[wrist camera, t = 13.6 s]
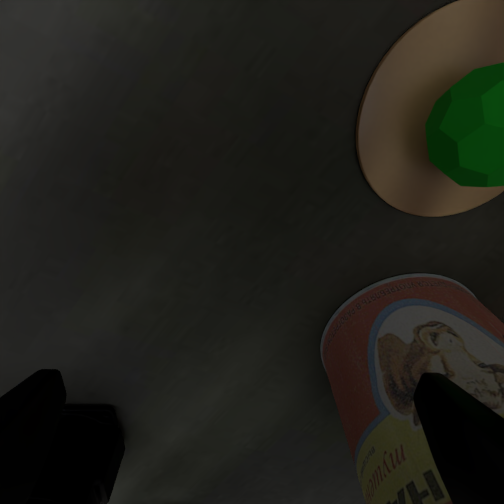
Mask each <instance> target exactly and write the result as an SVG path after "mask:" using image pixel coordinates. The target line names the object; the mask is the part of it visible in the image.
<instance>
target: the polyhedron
mask: <svg viewBox="0 0 504 504" xmlns="http://www.w3.org/2000/svg"><path fill="white" fill-rule="evenodd" d="M425 130H426V141H427V148H428V154H429V161H430V162H431V163H433V164H434V165H435V166H436V167H437V168H438V169H439V170H441V171H442V172H443V173H444V174H445V175H446V176H448V177H449V178H450V179H452V180H453V181H454V182H456V183H457V184H458V185H460V186H466V187H498V186H504V62H502V63H498V64H494V65H490V66H485V67H481V68H477V69H474V70H472V71H471V72H470V73H468V74H467V75H466V76H465V77H463V78H462V79H461V80H459V81H458V82H457V83H456V84H454V85H453V86H452V87H450V88H449V89H448V90H447V91H446V92H445V93H444V94H443V95H442V96H441V97H440V98H439V99H438V100H437V101H436V102H435V104H434V106H433V108H432V110H431V113H430V115H429V117H428V119H427V121H426V124H425Z"/></svg>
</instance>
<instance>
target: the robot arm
mask: <svg viewBox="0 0 504 504" xmlns="http://www.w3.org/2000/svg"><path fill="white" fill-rule="evenodd" d="M413 400H414V405H415V408H416V411H417V414H418V416H419V419H420V422H421V425H422V428H423V431H424V434H425V437H426V440H427V442H428V445H429V448H430V451H431V454H432V457H433V459H434V462H435V465H436V467H437V469H438V472H439V474H440V476H441V479H442V481H443V483H444V485H445V488H446V490H447V492H448V494H449V496H450V499H451V501H452V503H453V504H504V418H503V417H501V416H500V415H498V414H497V413H496V412H494V411H493V410H492V409H490V408H489V407H487V406H486V405H485V404H483V403H482V402H480V401H479V400H478V399H476V398H475V397H473V396H472V395H471V394H469V393H468V392H466V391H465V390H464V389H462V388H461V387H460V386H458V385H457V384H455V383H454V382H453V381H451V380H450V379H448V378H447V377H446V376H444V375H443V374H441V373H437V372H425V373H423V374H422V375H421V377H420V379H419V382H418V384H417V387H416V389H415V392H414V395H413ZM65 402H66V390H65V386H64V383H63V379H62V376H61V373H60V371H59V370H56V369H41V370H39V371H37V372H35V373H34V374H32V375H31V376H30V377H28V378H27V379H25V380H24V381H23V382H21V383H20V384H18V385H17V386H16V387H14V388H13V389H11V390H10V391H9V392H7V393H6V394H4V395H3V396H2V397H0V504H107V503H108V502H109V499H110V496H111V493H112V490H113V487H114V483H115V480H116V477H117V474H118V470H119V467H120V464H121V461H122V459H123V456H124V451H125V445H124V440H123V436H122V431H121V430H120V428H119V427H118V422H117V418H116V413H115V410H114V408H113V407H111V406H64V405H65Z"/></svg>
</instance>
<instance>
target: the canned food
mask: <svg viewBox="0 0 504 504" xmlns="http://www.w3.org/2000/svg"><path fill="white" fill-rule="evenodd" d="M320 353H321V359H322V363H323V366H324V368H325V370H326V372H327V375H328V378H329V381H330V385H331V388H332V391H333V395H334V398H335V401H336V405H337V408H338V411H339V415H340V418H341V421H342V425H343V428H344V431H345V435H346V438H347V441H348V445H349V448H350V451H351V455H352V458H353V461H354V465H355V468H356V471H357V475H358V478H359V481H360V485H361V488H362V491H363V495H364V498H365V501H366V504H453V503H452V501H451V499H450V496H449V494H448V492H447V490H446V488H445V485H444V483H443V481H442V479H441V476H440V474H439V472H438V469H437V467H436V465H435V462H434V459H433V457H432V454H431V451H430V448H429V445H428V442H427V440H426V437H425V434H424V431H423V428H422V425H421V422H420V419H419V416H418V414H417V411H416V408H415V405H414V400H413V395H414V392H415V389H416V387H417V384H418V382H419V379H420V377H421V375H422V374H423V373H425V372H437V373H441V374H443V375H444V376H446V377H447V378H448V379H450V380H451V381H453V382H454V383H455V384H457V385H458V386H460V387H461V388H462V389H464V390H465V391H466V392H468V393H469V394H471V395H472V396H473V397H475V398H476V399H478V400H479V401H480V402H482V403H483V404H485V405H486V406H487V407H489V408H490V409H492V410H493V411H494V412H496V413H497V414H498V415H500V416H501V417H503V418H504V324H503V323H502V322H501V321H500V320H499V319H498V318H497V317H496V316H495V315H494V314H492V313H491V312H490V311H489V310H488V309H487V308H486V307H485V306H484V305H483V304H482V303H480V302H479V301H478V300H477V298H476V297H475V295H474V294H473V293H472V292H471V291H470V290H469V289H468V288H466V287H465V286H464V285H462V284H461V283H459V282H457V281H455V280H453V279H451V278H448V277H445V276H441V275H436V274H427V273H414V274H405V275H399V276H395V277H391V278H387V279H384V280H381V281H379V282H376V283H374V284H372V285H370V286H368V287H366V288H364V289H362V290H361V291H359V292H357V293H356V294H355V295H353V296H352V297H350V298H349V299H348V300H347V301H346V302H344V303H343V304H342V305H341V306H340V307H339V308H338V309H337V311H336V312H335V313H334V314H333V316H332V317H331V319H330V320H329V322H328V323H327V325H326V327H325V330H324V332H323V335H322V339H321V345H320Z"/></svg>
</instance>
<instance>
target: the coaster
mask: <svg viewBox="0 0 504 504" xmlns="http://www.w3.org/2000/svg"><path fill="white" fill-rule="evenodd" d="M502 62H504V0H459V1H456V2H453V3H450V4H448V5H446V6H444V7H442V8H440V9H438V10H435V11H434V12H432V13H430V14H429V15H427V16H426V17H424V18H423V19H421V20H420V21H418V22H417V23H416V24H415V25H413V26H412V27H411V28H410V29H409V30H407V31H406V32H405V33H404V34H403V35H402V36H401V37H400V38H399V39H398V40H397V41H396V42H395V43H394V44H393V46H392V47H391V48H390V49H389V51H388V52H387V53H386V54H385V56H384V57H383V58H382V60H381V62H380V63H379V65H378V66H377V68H376V69H375V71H374V73H373V75H372V77H371V79H370V81H369V83H368V85H367V87H366V90H365V93H364V95H363V98H362V101H361V104H360V108H359V112H358V117H357V125H356V149H357V156H358V160H359V164H360V167H361V170H362V172H363V174H364V177H365V179H366V180H367V182H368V183H369V185H370V187H371V188H372V189H373V190H374V191H375V193H376V194H377V195H378V196H379V197H381V198H382V199H383V200H384V201H385V202H387V203H388V204H389V205H391V206H393V207H394V208H396V209H398V210H400V211H403V212H405V213H408V214H413V215H417V216H426V217H440V216H447V215H453V214H457V213H461V212H464V211H467V210H470V209H472V208H475V207H477V206H479V205H481V204H483V203H485V202H487V201H489V200H491V199H492V198H494V197H496V196H497V195H499V194H500V193H502V192H503V191H504V186H498V187H466V186H460V185H458V184H457V183H456V182H454V181H453V180H452V179H450V178H449V177H448V176H446V175H445V174H444V173H443V172H442V171H441V170H439V169H438V168H437V167H436V166H435V165H434V164H433V163H431V162H430V161H429V154H428V148H427V141H426V130H425V124H426V121H427V119H428V117H429V115H430V113H431V110H432V108H433V106H434V104H435V102H436V101H437V100H438V99H439V98H440V97H441V96H442V95H443V94H444V93H445V92H446V91H447V90H448V89H449V88H450V87H452V86H453V85H454V84H456V83H457V82H458V81H459V80H461V79H462V78H463V77H465V76H466V75H467V74H468V73H470V72H471V71H472V70H474V69H477V68H481V67H485V66H490V65H494V64H498V63H502Z"/></svg>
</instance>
